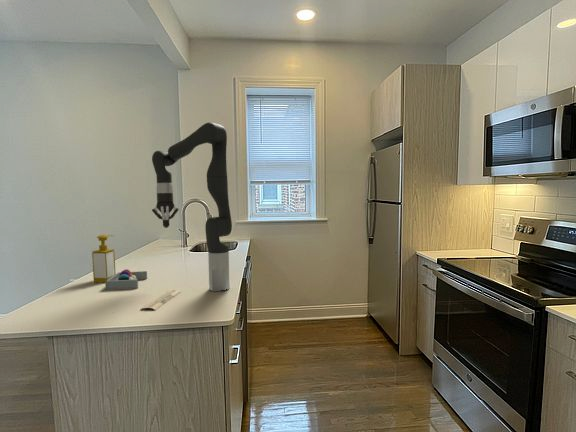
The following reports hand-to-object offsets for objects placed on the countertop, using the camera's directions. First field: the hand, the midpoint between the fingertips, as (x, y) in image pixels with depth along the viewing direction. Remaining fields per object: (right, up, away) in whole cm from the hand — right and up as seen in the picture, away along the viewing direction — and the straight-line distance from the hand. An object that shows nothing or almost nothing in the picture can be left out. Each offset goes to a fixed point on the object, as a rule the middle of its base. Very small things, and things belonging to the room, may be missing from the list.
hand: (166, 227), depth 171 cm
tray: (-19, -28, -1) cm, 33 cm away
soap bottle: (-33, -27, +9) cm, 44 cm away
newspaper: (+8, -30, -28) cm, 42 cm away
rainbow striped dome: (-19, -28, -1) cm, 34 cm away
